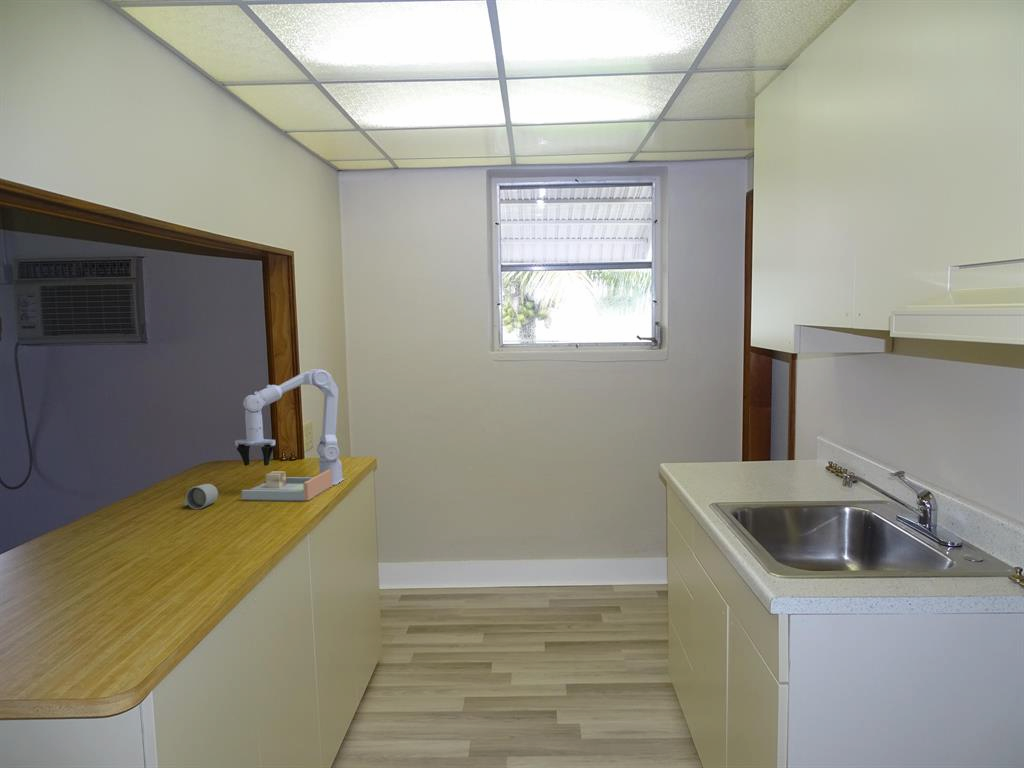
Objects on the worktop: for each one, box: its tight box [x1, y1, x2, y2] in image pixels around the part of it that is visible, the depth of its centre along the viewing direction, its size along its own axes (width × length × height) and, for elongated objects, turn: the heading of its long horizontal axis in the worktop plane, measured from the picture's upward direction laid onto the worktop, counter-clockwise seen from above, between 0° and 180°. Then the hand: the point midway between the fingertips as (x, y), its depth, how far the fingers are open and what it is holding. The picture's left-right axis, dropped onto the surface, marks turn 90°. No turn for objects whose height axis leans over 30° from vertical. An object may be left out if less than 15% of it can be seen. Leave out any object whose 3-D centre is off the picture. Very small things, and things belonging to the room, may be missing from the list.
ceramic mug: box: [182, 483, 219, 510], centre depth 233 cm, size 11×8×8 cm
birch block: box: [265, 470, 287, 488], centre depth 247 cm, size 5×5×5 cm
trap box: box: [241, 470, 334, 502], centre depth 247 cm, size 21×24×6 cm
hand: (256, 465), depth 247 cm, fingers open, 7 cm apart
